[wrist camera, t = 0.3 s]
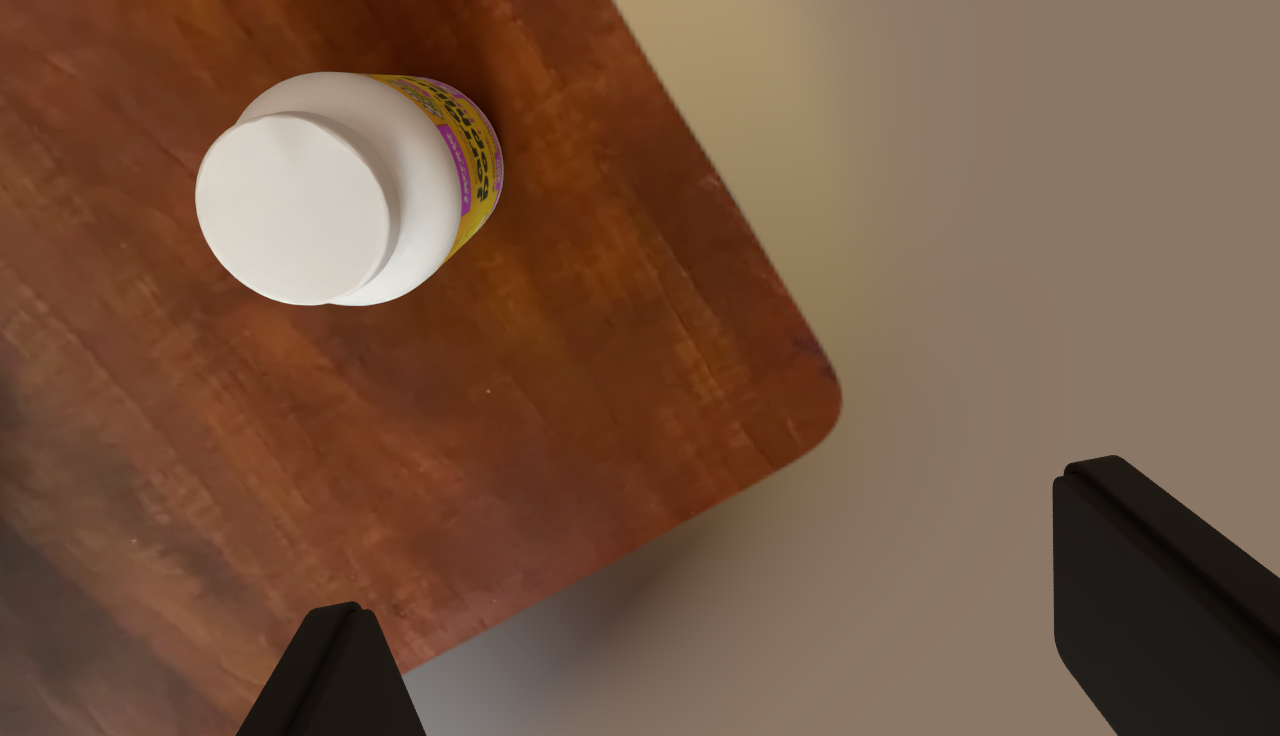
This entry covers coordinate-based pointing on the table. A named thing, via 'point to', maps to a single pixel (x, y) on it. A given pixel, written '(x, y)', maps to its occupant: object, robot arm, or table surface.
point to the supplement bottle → (348, 186)
